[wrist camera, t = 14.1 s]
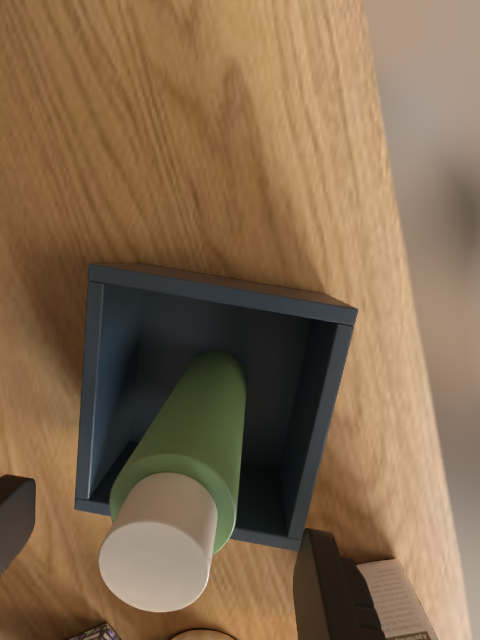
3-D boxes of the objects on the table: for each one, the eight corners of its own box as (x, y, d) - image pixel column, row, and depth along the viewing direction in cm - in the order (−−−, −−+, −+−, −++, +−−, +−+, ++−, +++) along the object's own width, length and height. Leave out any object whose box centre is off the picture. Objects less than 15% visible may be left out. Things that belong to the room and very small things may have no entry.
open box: (139, 262, 20) (88, 263, 14) (327, 294, 20) (359, 309, 14) (122, 444, 22) (73, 510, 17) (287, 474, 22) (299, 552, 16)
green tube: (190, 345, 20) (79, 485, 8) (251, 356, 20) (244, 516, 7) (182, 402, 21) (71, 614, 8) (241, 413, 21) (218, 643, 8)
